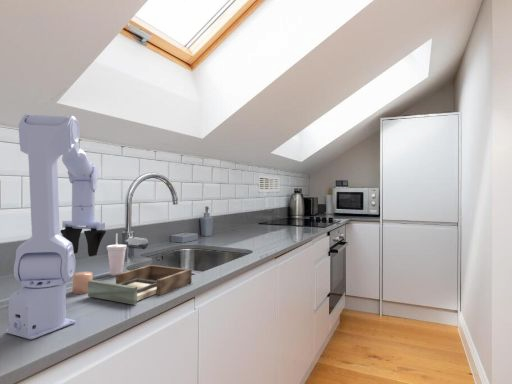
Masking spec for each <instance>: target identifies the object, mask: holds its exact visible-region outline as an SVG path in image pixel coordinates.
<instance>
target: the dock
mask: <svg viewBox="0 0 512 384" xmlns="http://www.w3.org/2000/svg"><path fill="white" fill-rule="evenodd" d="M192 273H193V271H192V269H190V268H183V267H174V266H173V267H172V266H166V265H157V264H149V265H145V266H142V267H139V268H133V269H131V270H127V271H124V272H123V273H119V274H116V275H115V284H120V283H123V282H126V281H129V280H133V279H136V278H138V279H145V280H151V279H155V280H156V281H157V293H156V296H161V295H165V294H166V293H170V292H172V291H174V290H177V289H179V288H182V287H184V286H186V285H188V284H190V283H191V284H192V275H193V274H192ZM176 288H177V289H176ZM171 290H172V291H171Z"/></svg>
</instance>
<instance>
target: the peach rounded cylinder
mask: <svg viewBox="0 0 512 384" xmlns="http://www.w3.org/2000/svg"><path fill="white" fill-rule="evenodd" d="M93 274H94V273H93V272H92V271H78V272H74V275H73V276H72V284H71V285H72V287H71V288H72V294H74V295H84V294H88V281H91V280H94V278H93Z"/></svg>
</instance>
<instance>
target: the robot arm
mask: <svg viewBox="0 0 512 384" xmlns="http://www.w3.org/2000/svg"><path fill="white" fill-rule="evenodd" d="M80 131H81V129H80V124H79V121H78V119H77V118H76V117H75V116H74V115H69V116H67V115H66V116H65V115H50V114H49V115H48V114H47V115H44V114H31V113H25V114H24V115H22V118H21V119H20V120H19V123H18V135H19V136H18V139H19V142H18V143H19V148H20V152H21V153H24V154H26V155H27V156H28V157H27V158H28V176H29V178H28V179H29V197H30V199H29V200H30V203H29V204H30V217H31V218H30V221H31V222H30V223H31V237H30V238H28V239H27V240H25V241H23V242H22V243H21V244H20V245H19V246H18V247H17V248H16V250H15V261H14V263H13V275H14V279H16V281H17V282H18V283H20V287H21V288H20V289H19V290H18V289H17V290H16V291H13V292H12V293H11V294H10V296H9V298H8V317H7V318H8V319H7V321H8V322H7V323H8V324H7V327H8V328H7V329H6V330H5V333H6V334H9V335H14V336H16V337H17V336H18V337H21V338H24V339H27V340H34V339H36V338H40V337H42V336H44V335H47V334H50V333H51V332H55V331H58V330H60V329H61V328H65V327H68V326H70V325H72V324H74V323H76V320H75V319H72V318H67V316H66V315H67V314H66V312H67V311H66V308H67V306H66V302H67V301H66V300H67V299H66V298H67V293H66V292H67V284H66V283H67V281H70V280H71V279H73V275H74V273H76V263H77V262H76V255H75V254H78V252H79V246H80V245H79V244H80V237H81V233H82V231H83V233H84V235H85V239H86V243H87V244H86V245H87V254H88V257H95V256H97V254H98V252H99V248H100V244H101V242H102V239H103V238H104V236H105V234H106V233H107V230H106V222H101V221H97V220H95V219H96V218H95V217H96V216H95V210H96V208H95V207H96V206H95V204H96V203H95V200H96V197H95V196H96V195H95V194H96V192H95V191H97V182H98V177H99V172H98V167H97V165H94V164H93V163H91V161H90V159H89V158H88V155H87V154H86V152H85V151H84V150H83V149H82V148H79V147H78V142H79V141H80V136H81V135H80V134H81V133H80ZM60 157H61V161H62V163H63V165H64V166H65V167H66V169H67V175H68V180H69V183H70V184H71V220H62V227H61V228H62V229H60V209H59V206H60V204H59V201H60V200H59V180H58V179H59V175H58V174H59V173H58V160H59V159H60ZM63 228H64V229H63ZM83 229H84V230H83ZM60 233H61V234H60Z"/></svg>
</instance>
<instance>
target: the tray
mask: <svg viewBox="0 0 512 384" xmlns="http://www.w3.org/2000/svg"><path fill="white" fill-rule="evenodd" d="M153 295H157V280H152V279H147V280H145V279H138V278H136V279H133V280H129V281H126V282H123V283H120V284H116V283H114V282H106V281H100V280H95V279H93V280H91V281H88V293H87V296H88V297H89V298H96V299H101V300H106V301H112V302H118V303H122V304H128V305H132V306H133V305H136V304H138V302H139V301H140V300H141V301H142V300H144V299H146V298H148V297H151V296H153Z"/></svg>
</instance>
